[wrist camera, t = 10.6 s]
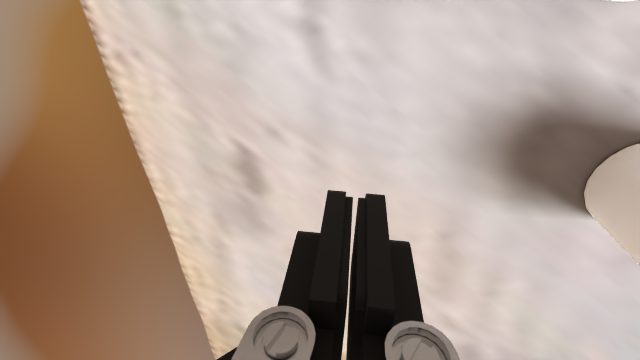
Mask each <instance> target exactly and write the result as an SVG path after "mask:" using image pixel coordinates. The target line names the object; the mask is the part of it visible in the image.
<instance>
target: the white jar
mask: <svg viewBox="0 0 640 360" xmlns="http://www.w3.org/2000/svg"><path fill="white" fill-rule="evenodd" d="M584 197H585V204H586V208H587V210H588V211H589V213H590V214H591V215H592V217H593V218H594V219H595V220H596V221H597V222H598V223H599V224H600V225H601V226H602V227H603V228H604V229H605V230H606V231H607V232H608V233H609V234H610V235H611V236H612V237H613V238H614V239H615V240H616V241H617V243H618V244H619V245H620V246H621V247H622V248H623V249H624V250H625V251H626V252H627V253H628V254H629V255H630V256H631V257H632V258H633V259H634V260H635V261H636V262H637V263H638V264H639V265H640V143H639V144H635V145H632V146H629V147H626V148H624V149H623V150H621V151H619V152H617V153H615V154H613V155H612V156H610V157H609V158H607V159H606V160H605V161H604V162H603V163H602V164H600V165H599V166H598V167H597V168H596V169H595V171H594V172H593V174H592V175H591V176H590V178H589V179H588V181H587V184H586V188H585V191H584Z"/></svg>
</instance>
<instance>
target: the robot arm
mask: <svg viewBox="0 0 640 360" xmlns="http://www.w3.org/2000/svg"><path fill="white" fill-rule="evenodd" d="M603 1H610V2H630V1H637V0H603ZM352 204H353V197H346V192H342V191H331V190H328V193H327V199H326V205H325V210H324V216H323V222H322V227H321V233H313V232H303V231H298V232H297V235H296V239H295V243H294V246H293V250H292V254H291V258H290V261H289V265H288V269H287V272H286V276H285V280H284V284H283V287H282V291H281V295H280V299H279V302H278V306H276V307H271V308H269V309H267V310H264V311H262V312H261V313H260V314H259V315H257V316H256V317H255V318H254V319H253V320H252V322H251V323H250V325H249V326H248V328H247V330H246V332H245V334H244V336H243V338H242V340H241V342H240V343H239V345H238V347H236V348H235V349H233V350H231V351H230V352H228V353H227V354H225V355H223V356H222V357H220V358H219V359H217V360H341V355H342V346H343V337H344V328H345V318H346V309H347V296H348V278H349V260H350V241H351V222H352ZM346 360H460V359H459V357H458V354H457V352H456V350H455V348H454V346H453V345H452V343H451V341H450V340H449V339H448V338H447V337H446V336H445V335H444V334H443V333H442V332H441V331H439V330H438V329H436V328H435V327H433V326H431V325H428V324H426V323H424V320H423V315H422V309H421V303H420V298H419V292H418V286H417V281H416V275H415V269H414V263H413V258H412V252H411V247H410V243H409V242H405V241H395V240H389V233H388V222H387V212H386V202H385V195H377V194H366V197H365V198H358V206H357V216H356V225H355V234H354V243H353V253H352V262H351V274H350V294H349V315H348V337H347V358H346Z"/></svg>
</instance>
